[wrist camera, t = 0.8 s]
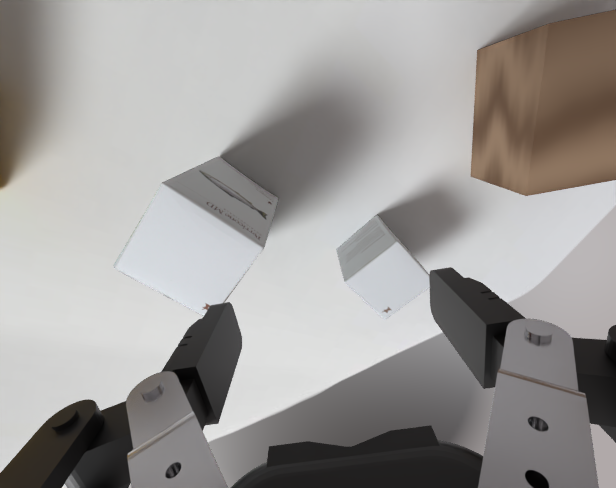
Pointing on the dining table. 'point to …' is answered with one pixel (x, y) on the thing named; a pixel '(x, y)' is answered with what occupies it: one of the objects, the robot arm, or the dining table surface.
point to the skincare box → (381, 268)
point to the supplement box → (199, 235)
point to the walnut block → (547, 107)
